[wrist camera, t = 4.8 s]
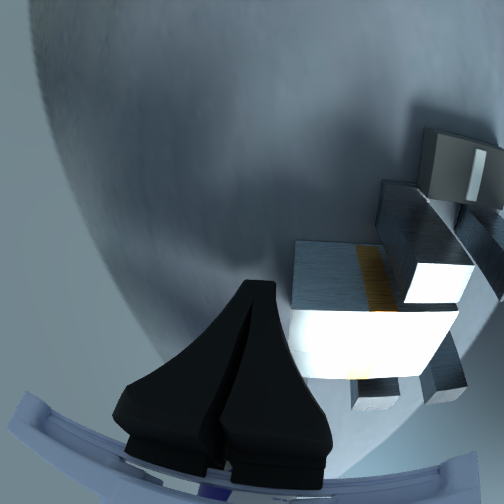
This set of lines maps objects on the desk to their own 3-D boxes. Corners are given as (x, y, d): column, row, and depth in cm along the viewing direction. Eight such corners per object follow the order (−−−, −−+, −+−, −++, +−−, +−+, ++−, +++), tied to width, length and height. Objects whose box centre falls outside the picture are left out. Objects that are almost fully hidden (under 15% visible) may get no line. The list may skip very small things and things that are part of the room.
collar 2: (434, 343, 14) (449, 405, 11) (407, 344, 15) (420, 410, 11) (496, 197, 9) (553, 254, 5) (465, 191, 9) (523, 251, 5)
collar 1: (377, 345, 15) (386, 413, 11) (345, 345, 15) (348, 415, 12) (427, 185, 9) (482, 247, 6) (382, 179, 10) (424, 243, 6)
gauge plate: (488, 197, 9) (503, 211, 8) (416, 186, 10) (428, 199, 8) (499, 146, 8) (516, 156, 7) (424, 127, 8) (439, 134, 7)
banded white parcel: (426, 247, 11) (459, 311, 8) (403, 312, 13) (419, 375, 10) (295, 239, 12) (290, 308, 9) (291, 308, 14) (285, 376, 11)
